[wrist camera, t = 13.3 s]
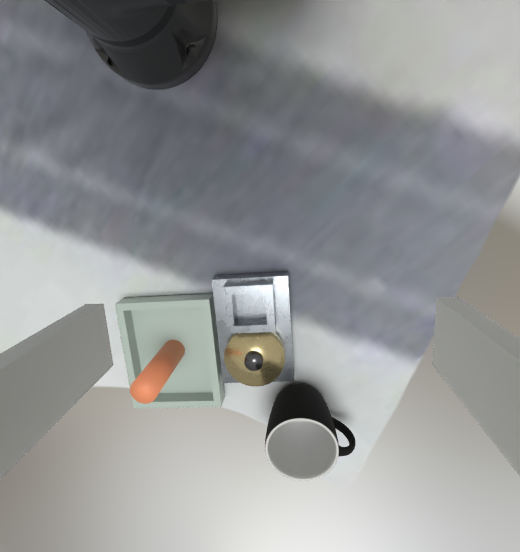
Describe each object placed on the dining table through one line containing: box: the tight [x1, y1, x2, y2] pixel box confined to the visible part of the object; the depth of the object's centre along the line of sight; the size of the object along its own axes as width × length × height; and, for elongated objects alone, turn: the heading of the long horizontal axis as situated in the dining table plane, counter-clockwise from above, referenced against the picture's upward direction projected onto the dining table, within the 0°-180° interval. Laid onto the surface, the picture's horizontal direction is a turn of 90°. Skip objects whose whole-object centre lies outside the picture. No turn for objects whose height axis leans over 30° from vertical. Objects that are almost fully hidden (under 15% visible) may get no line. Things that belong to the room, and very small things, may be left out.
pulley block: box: [212, 271, 294, 386], centre depth 48 cm, size 15×10×6 cm, turn 4°
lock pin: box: [130, 340, 185, 404], centre depth 46 cm, size 3×3×11 cm
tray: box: [115, 293, 225, 409], centre depth 51 cm, size 16×13×3 cm
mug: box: [265, 384, 355, 481], centre depth 48 cm, size 12×9×10 cm
